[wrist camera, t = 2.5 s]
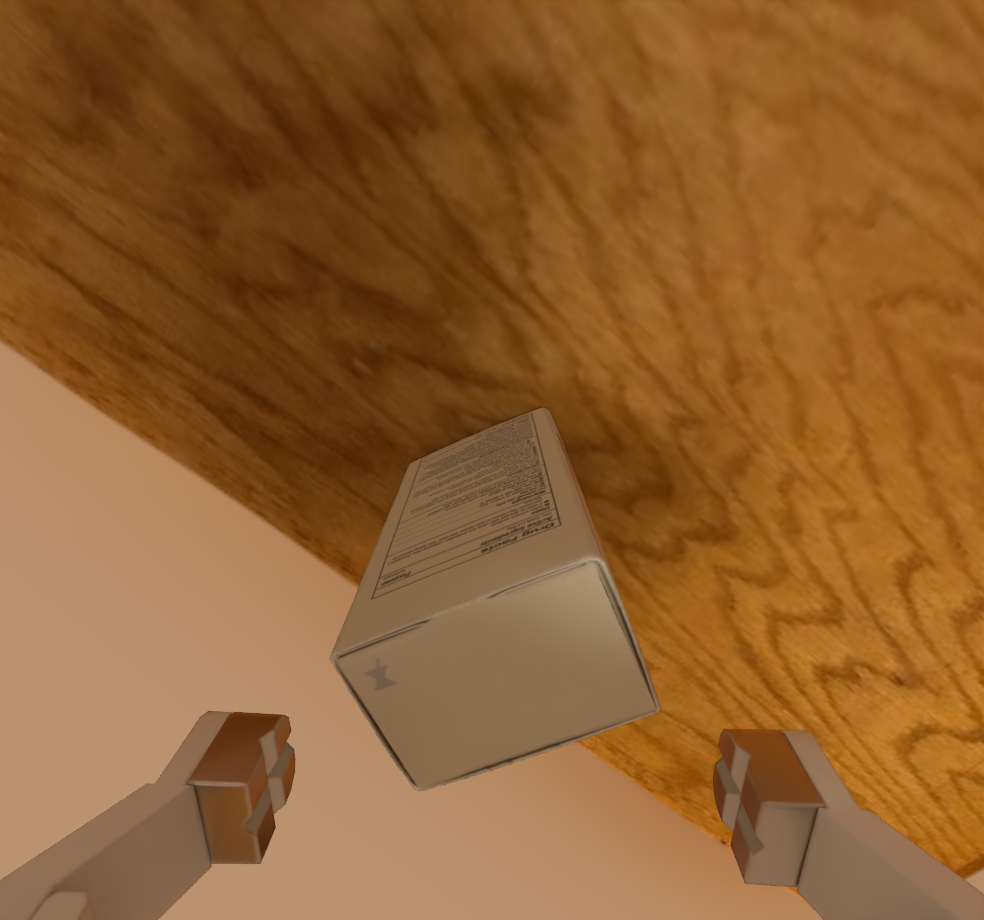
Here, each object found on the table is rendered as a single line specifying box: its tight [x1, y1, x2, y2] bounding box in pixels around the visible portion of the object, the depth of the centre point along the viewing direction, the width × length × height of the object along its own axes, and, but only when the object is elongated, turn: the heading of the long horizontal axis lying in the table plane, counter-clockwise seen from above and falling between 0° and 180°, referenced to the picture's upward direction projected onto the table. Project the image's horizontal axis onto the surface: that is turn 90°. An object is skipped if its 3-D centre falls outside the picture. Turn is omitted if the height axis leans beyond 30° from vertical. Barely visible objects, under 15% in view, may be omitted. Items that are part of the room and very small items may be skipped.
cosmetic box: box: [330, 408, 660, 791], centre depth 18 cm, size 6×4×12 cm
